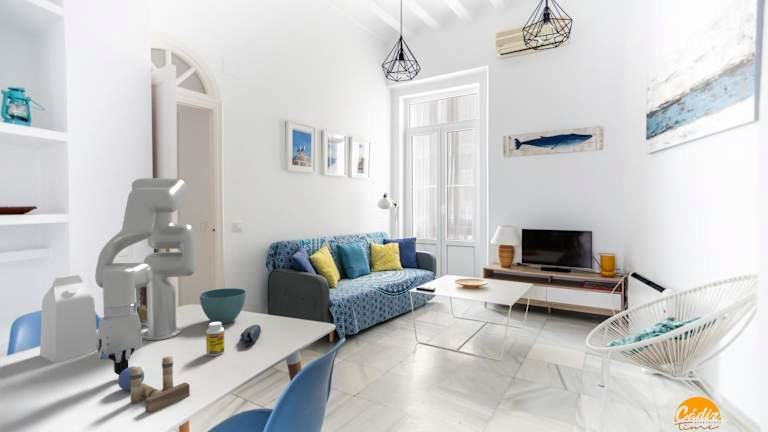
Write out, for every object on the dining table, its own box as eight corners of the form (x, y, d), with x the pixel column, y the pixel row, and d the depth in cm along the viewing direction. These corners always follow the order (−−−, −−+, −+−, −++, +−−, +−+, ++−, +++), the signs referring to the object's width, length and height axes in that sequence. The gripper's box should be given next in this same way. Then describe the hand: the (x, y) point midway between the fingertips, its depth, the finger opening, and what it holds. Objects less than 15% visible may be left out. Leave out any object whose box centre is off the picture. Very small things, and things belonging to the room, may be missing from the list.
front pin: (134, 391, 102) (150, 400, 97) (141, 381, 103) (157, 389, 98) (142, 394, 103) (158, 403, 99) (149, 385, 105) (165, 393, 100)
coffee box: (166, 322, 163) (165, 284, 162) (152, 326, 157) (151, 287, 156) (150, 319, 166) (149, 282, 165) (136, 324, 160) (135, 285, 159)
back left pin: (160, 389, 105) (160, 358, 105) (170, 385, 107) (169, 355, 107) (165, 391, 104) (165, 360, 103) (175, 387, 106) (174, 357, 105)
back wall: (145, 410, 94) (145, 398, 94) (185, 393, 103) (185, 382, 103) (150, 413, 93) (149, 400, 93) (189, 395, 102) (189, 384, 102)
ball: (122, 384, 100) (126, 399, 103) (146, 370, 104) (149, 385, 107) (111, 371, 103) (115, 385, 106) (135, 358, 107) (139, 372, 110)
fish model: (235, 349, 134) (235, 335, 133) (245, 330, 154) (245, 317, 154) (256, 348, 135) (256, 334, 135) (262, 329, 155) (263, 317, 155)
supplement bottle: (208, 357, 126) (207, 327, 126) (205, 352, 131) (204, 322, 130) (226, 354, 129) (225, 324, 129) (222, 348, 134) (222, 319, 133)
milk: (82, 343, 138) (80, 271, 137) (98, 349, 132) (96, 274, 131) (39, 355, 128) (37, 277, 127) (55, 362, 122) (52, 281, 121)
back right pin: (128, 402, 98) (127, 369, 98) (139, 397, 100) (138, 365, 100) (133, 405, 97) (132, 371, 96) (144, 400, 99) (143, 368, 99)
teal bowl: (212, 314, 174) (212, 287, 173) (252, 315, 173) (252, 288, 172) (191, 328, 155) (190, 297, 155) (236, 328, 155) (235, 298, 154)
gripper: (141, 303, 119) (142, 361, 119) (83, 315, 106) (84, 380, 107) (153, 306, 115) (155, 367, 115) (95, 319, 102) (97, 387, 103)
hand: (121, 373), depth 111 cm, fingers closed
